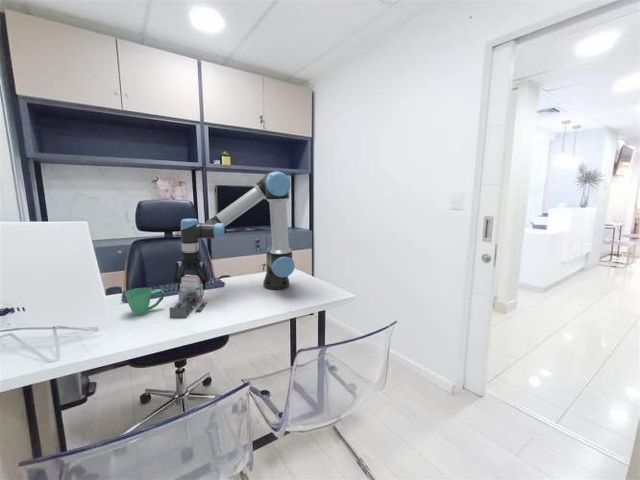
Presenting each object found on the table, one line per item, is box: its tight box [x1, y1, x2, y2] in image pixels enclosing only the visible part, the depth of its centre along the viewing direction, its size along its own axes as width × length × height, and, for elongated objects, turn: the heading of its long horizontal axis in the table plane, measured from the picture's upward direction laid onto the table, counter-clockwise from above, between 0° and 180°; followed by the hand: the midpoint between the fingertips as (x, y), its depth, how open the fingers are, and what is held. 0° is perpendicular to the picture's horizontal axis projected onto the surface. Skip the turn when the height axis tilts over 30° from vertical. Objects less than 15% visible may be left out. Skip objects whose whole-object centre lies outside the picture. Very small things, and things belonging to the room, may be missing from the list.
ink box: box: [181, 274, 204, 302], centre depth 146 cm, size 9×5×12 cm, turn 84°
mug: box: [125, 287, 165, 316], centre depth 132 cm, size 15×10×10 cm
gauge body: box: [169, 301, 208, 319], centre depth 136 cm, size 11×17×4 cm
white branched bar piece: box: [177, 290, 203, 307], centre depth 137 cm, size 11×8×7 cm
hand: (192, 295), depth 147 cm, fingers closed on ink box, 9 cm apart
